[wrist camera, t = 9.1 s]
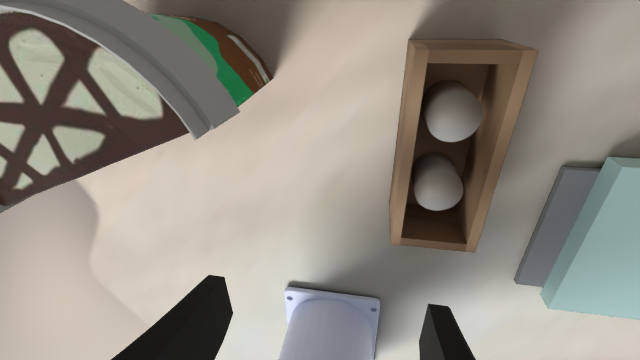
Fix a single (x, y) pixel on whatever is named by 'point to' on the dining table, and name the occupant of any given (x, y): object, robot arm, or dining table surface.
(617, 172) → the lid
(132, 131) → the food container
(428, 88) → the box
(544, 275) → the coaster
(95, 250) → the dining table surface
